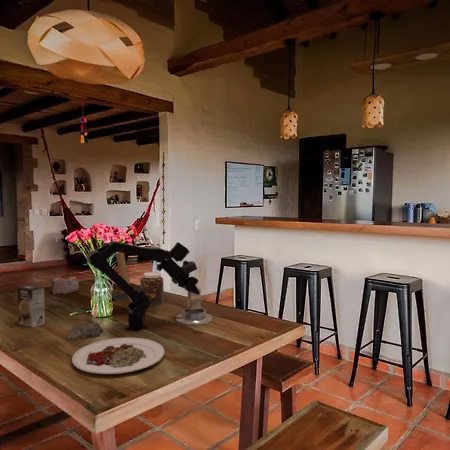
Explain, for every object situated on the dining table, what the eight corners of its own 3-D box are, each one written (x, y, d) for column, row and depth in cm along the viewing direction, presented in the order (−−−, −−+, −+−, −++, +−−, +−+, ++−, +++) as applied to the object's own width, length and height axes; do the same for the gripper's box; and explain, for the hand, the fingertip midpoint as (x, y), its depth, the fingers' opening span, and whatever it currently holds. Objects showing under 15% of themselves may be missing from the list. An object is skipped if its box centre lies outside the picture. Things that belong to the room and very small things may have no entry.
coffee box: (17, 324, 171) (16, 286, 170) (31, 320, 177) (30, 283, 175) (32, 327, 167) (31, 289, 166) (45, 323, 172) (44, 286, 171)
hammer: (111, 305, 209) (99, 250, 204) (108, 303, 214) (97, 248, 209) (147, 293, 219) (136, 240, 214) (143, 291, 223) (133, 239, 218)
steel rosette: (200, 327, 169) (200, 318, 168) (168, 321, 176) (168, 312, 176) (218, 317, 183) (218, 308, 183) (188, 312, 190) (188, 303, 190)
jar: (166, 300, 211) (166, 272, 210) (160, 306, 200) (160, 276, 199) (144, 299, 212) (143, 271, 211) (137, 305, 201) (136, 275, 200)
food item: (76, 289, 234) (76, 272, 233) (79, 292, 227) (79, 275, 227) (51, 292, 227) (50, 274, 226) (53, 295, 220) (52, 277, 219)
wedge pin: (200, 308, 178) (200, 288, 178) (191, 309, 176) (191, 289, 176) (196, 305, 182) (196, 286, 181) (187, 307, 180) (187, 287, 179)
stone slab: (105, 326, 172) (104, 319, 171) (99, 340, 155) (99, 332, 155) (73, 328, 169) (73, 320, 169) (64, 342, 153) (64, 334, 152)
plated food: (182, 357, 138) (182, 348, 138) (104, 388, 116) (104, 377, 116) (130, 336, 158) (130, 328, 158) (55, 359, 136) (55, 349, 136)
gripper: (194, 258, 167) (218, 283, 173) (178, 252, 184) (200, 275, 190) (176, 279, 164) (200, 303, 170) (161, 271, 181) (184, 293, 187)
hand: (196, 292), depth 179 cm, fingers closed on wedge pin, 4 cm apart
